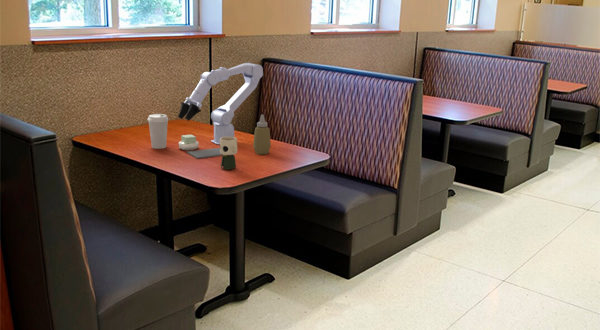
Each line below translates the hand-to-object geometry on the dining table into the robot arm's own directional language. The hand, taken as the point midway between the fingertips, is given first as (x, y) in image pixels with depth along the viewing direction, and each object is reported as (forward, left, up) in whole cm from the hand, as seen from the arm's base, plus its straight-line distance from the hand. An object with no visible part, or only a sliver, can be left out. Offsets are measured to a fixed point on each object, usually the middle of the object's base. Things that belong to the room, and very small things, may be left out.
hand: (183, 118), depth 276 cm
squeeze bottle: (-28, +24, -14) cm, 40 cm away
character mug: (-3, +39, -14) cm, 42 cm away
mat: (-6, +14, -14) cm, 21 cm away
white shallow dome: (-2, +1, -14) cm, 14 cm away
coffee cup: (+9, -8, -14) cm, 19 cm away
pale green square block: (-2, +1, -11) cm, 11 cm away
